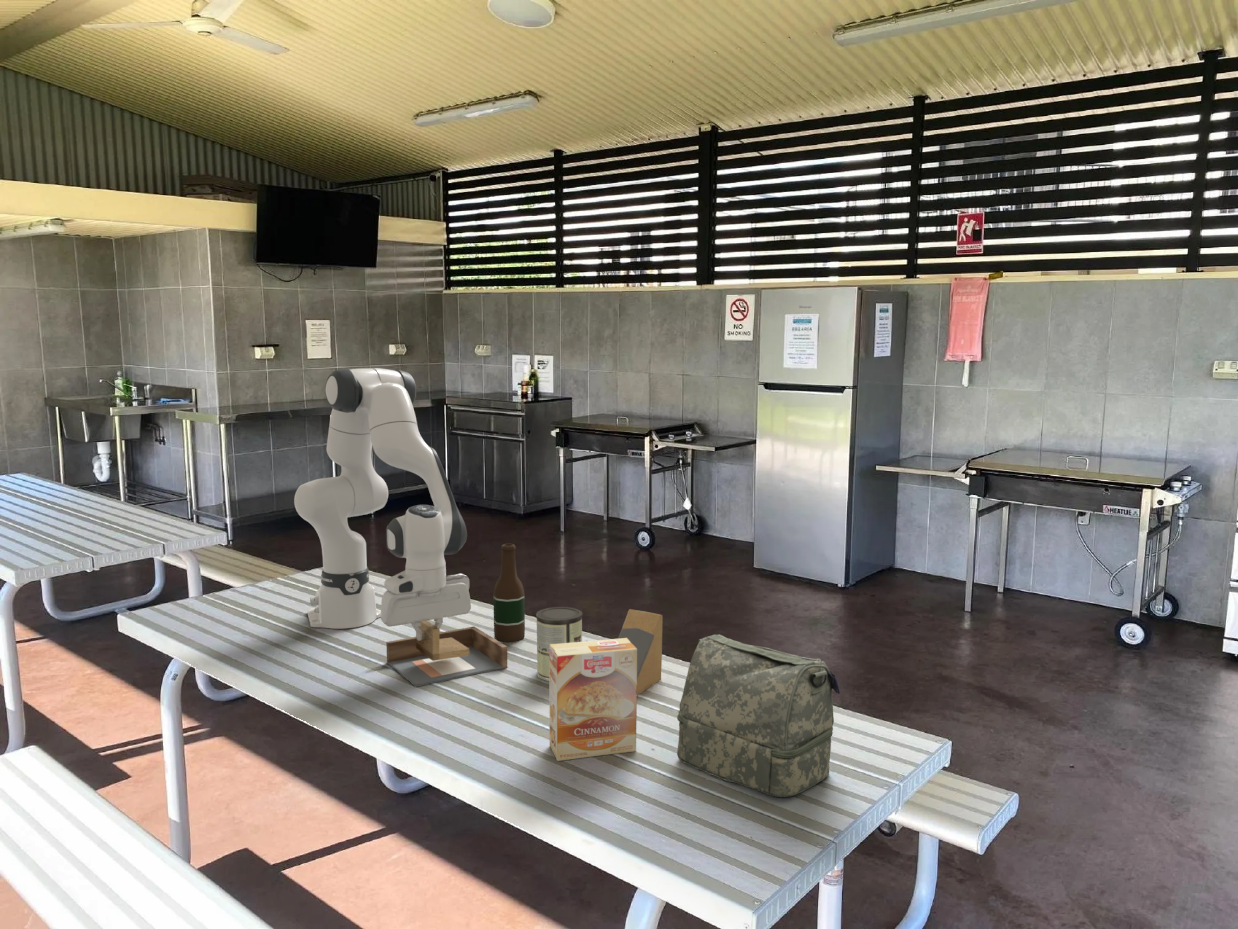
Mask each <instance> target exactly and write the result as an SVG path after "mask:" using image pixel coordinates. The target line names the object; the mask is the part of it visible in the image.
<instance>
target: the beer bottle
mask: <svg viewBox="0 0 1238 929" xmlns="http://www.w3.org/2000/svg"><path fill="white" fill-rule="evenodd" d="M516 549H517V547H516V544H513V543H504V544H502V545H501V547H500V550H501V563H500V564H501V565H500V567H501V568H500V574H499V577H498V579H497V581H495V585H494V587H493V595H492V598H493V634H494V636H493V638H494V639H496V640H497V641H499V642H501V643H507V644H509V643H518V642H520V641H522V640H523V639H525V634H526V633H525V632H526V626H525V625H526V620H525V619H526V616H525V614H526V611H525V610H526V609H525V606H526V605H525V587H524V585H523V583H522V581H521V580H520V578H519V577H518V573H517V564H516V563H517V562H516V551H515V550H516Z"/></svg>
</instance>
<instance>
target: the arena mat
mask: <svg viewBox="0 0 1238 929" xmlns="http://www.w3.org/2000/svg"><path fill="white" fill-rule="evenodd" d="M467 648H469V655H468V656H462V657H455V658H448V659H442V660H435V661H432V660H431V659H429V658H428V657H427V656H425V655H424V656H419V657H413V658H408V659H403V660H398V661H392V662H389V664H388V665H389V666H390V667H392V668H393V669H394V670H395V671H396V670H397V671H396V672H397V673H398V674H400V675H401V676H402V675H403V676H402V677H403V678H404V677H405V678H404V679H406V680H407V681H408V680H409V681H410V682H411V683H410V682H409V681H408V682H409V683H410V684H411V685H412V686H414V687H415V686H416V687H420V686H419V685H421V686H425V685H426V686H427V685H430V684H429V683H431V684H435V683H440V682H443V680H445V681H448V680H449V679H450V680H454V679H453V678H455V679H458V678H463V677H468V676H473V675H478V674H482V673H483V674H484V673H487V672H493V671H497V670H501V669H502V670H503V669H504V668H503V666H501V665H500V664H498V663H497V662H495V661H493V660H492V659H490V658H489V657H487V656H486V655H484V654H483V653H481V652H480V651H478V650H477V649H475V648H474V647H467Z"/></svg>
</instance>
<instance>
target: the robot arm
mask: <svg viewBox="0 0 1238 929" xmlns="http://www.w3.org/2000/svg"><path fill="white" fill-rule="evenodd" d="M324 390H325V398H326V401H327V403H328V405H329V406H330V407H331V408H332V410H331V413H330V418H329V427H328V432H327V434H328V435H327V441H326V442H327V443H326V453H327V455H328V457H329V459H330V460H331V461H332V462H334V463H336V465H339V466H340V467H341V469H340V470H341V472H340V475H339V476H331V477H323V478H317V479H313V480H310V481H307V482H305V483H302V484H300V485H299V487H297V489H296V491H295V493H294V499H293V500H294V501H293V503H294V508H295V510H296V512H297V514H298V515H299V516H300V517H301V518H302V519H303V520H304V521H306V522H308V523H309V524H310V525H311V526H312V527H313V528H314V530H315V531H316V533H317V536H318V537H319V541H320V545H321V554H322V568H323V569H322V570H321V576H320V583H321V584H320V587H319V588H318V589H317V591H316V592H315V596H311V597H310V598H309V602H310V603H309V604H310V606H311V608H308V609H307V616H308V620H309V621H308V622H309V626H310V627H311V628H325V629H326V628H327V629H333V630H334V629H335V630H337V629H342V630H343V629H351V628H359V627H362V626H363V627H364V626H366V625H369V624H371V623H373V622H374V621H375V620H376V619H378V618H380V620H381V622H382V623H383V624H384V625H386V626H387V627H388V628H389V627H391V628H392V627H395V626H401V625H408V624H411V626H412V628H413V629H414V632H415V633H416V632H417V640H419V641H421V640H426V637H425V636H426V632H424V631H421V630H420V629H419V627H418V626H421V621H432V620H433V621H434V624H433V625H434V626H436V627H437V628H439V629H440V630H441V626H442V625H443V623H444V618H449V617H455V616H461V615H466V614H469V613H470V611H471V609H472V605H471V596H470V592H469V589H470V579H469V577H468V576H467V575H465V574H464V573H457V574H448V575H447V569H446V568H447V566H446V559H445V555H455V554H457V553H458V552H459V551H460V550H461V549H462V548H463V546H464V545H465V543H467V538H468V532H467V526H466V523H465V521H464V519H463V515H462V514H461V512H460V510H459V508H458V506H457V504H456V501H455V498H454V495H453V492H452V489H451V487H450V484H449V481H448V477H447V475H446V472H445V470H444V467H443V465H442V462H441V460H440V457H439V454H438V453H437V451H436V450H435V449H434V448H433V447H431V446H430V445H428V444H427V443H426V442H425V440H424V439H423V437H422V435H421V434H420V431H419V427H418V421H417V417H416V412H415V410H414V404H415V401H416V398H417V384H416V382H415V379H414V378H413V376H412V374H410V373H409V372H407V371H404V370H400V369H388V368H381V367H371V368H367V367H366V368H364V367H363V368H352V369H350V368H347V367H345V368H340V369H336V370H333V371H332V372H331V373H330V374H329V376H328V377H327V379H326V383H325V389H324ZM372 450H373V451H374V453H375V454H374V455H376V457H378V458H379V460H381V461H382V462H383V463H385V464H387V465H389V466H391V467H394V468H396V469H401V470H404V471H407V472H410V473H413V474H415V475H417V476H419V477H420V478H421V479H423V481H424V482H425V484H426V486H427V488H428V491H429V494H430V498H431V500H432V502H433V505H429V504H417V505H413V506H410V507H408V509H407V510H406V511H405V514H403V515H402V516H398V517H394V518H393V519H392V520H391V521H390V522H389V523H388V524H387V526H386V527H385V544H386V549H387V550H388V551H389V553H391V554H392V555H393V556H395V557H396V558H401V559H403V558H404V559H406V562H405V565H404V566H405V570H403V571H401V572H399V573H396V574H394V575H393V576H391V577H388V578H387V579H385V580H384V588H385V589H386V591H384V593H383V594H382V597H381V604H380V610H377V602H376V601H377V600H376V592H375V587H374V586H373V585H371V584H370V583H369V581H370V572H369V570H370V569H369V567H368V566H367V564H368V563H367V559H368V558H367V542H366V539H365V538H364V537H363V536H362V534H360V533H358V532H356V531H354V530H352V529H351V528H350V526H349V522H348V518H351V517H352V518H353V517H359V516H363V515H368V514H369V515H370V514H372V513H374V512H376V511H379V510H381V509H383V508H385V506H386V504H387V502H388V498H389V488H388V485H387V482H385V479H384V478H382V476H380V475H379V474H378V473H377V472H376V470H375V468H374V465H373V460H372V452H373V451H372Z"/></svg>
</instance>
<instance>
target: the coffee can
mask: <svg viewBox="0 0 1238 929" xmlns="http://www.w3.org/2000/svg"><path fill="white" fill-rule="evenodd" d="M535 616H536V617H535V618H536V649H537V650H536V652H537V653H536V660H537V665H536V666H537V671H536V674H537V677H538V679H540V680H543V681H547V682H549V673H550V671H549V645H550V644H560V643H572V642H583V612H582V610H581V609H578V608H575V607H568V606H567V607H566V606H552V607H547V608H543V609H540V610H538V611H537V612H536V614H535Z"/></svg>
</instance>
